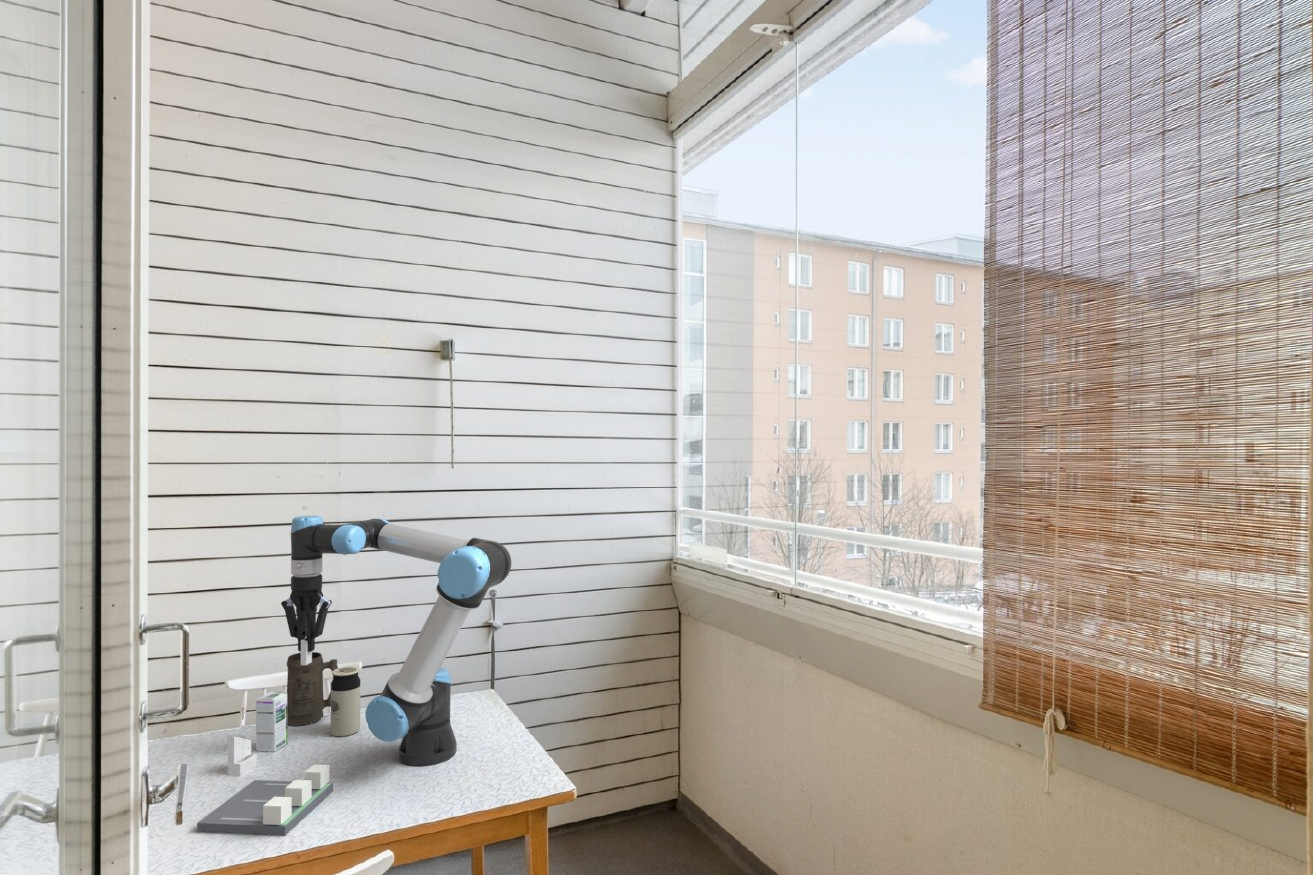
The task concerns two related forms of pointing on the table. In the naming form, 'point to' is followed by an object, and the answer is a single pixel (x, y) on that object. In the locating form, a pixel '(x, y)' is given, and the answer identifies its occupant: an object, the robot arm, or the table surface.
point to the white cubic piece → (317, 775)
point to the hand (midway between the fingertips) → (306, 663)
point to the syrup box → (271, 721)
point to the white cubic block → (299, 791)
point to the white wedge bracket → (240, 756)
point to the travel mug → (345, 701)
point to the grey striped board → (258, 810)
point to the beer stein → (306, 689)
